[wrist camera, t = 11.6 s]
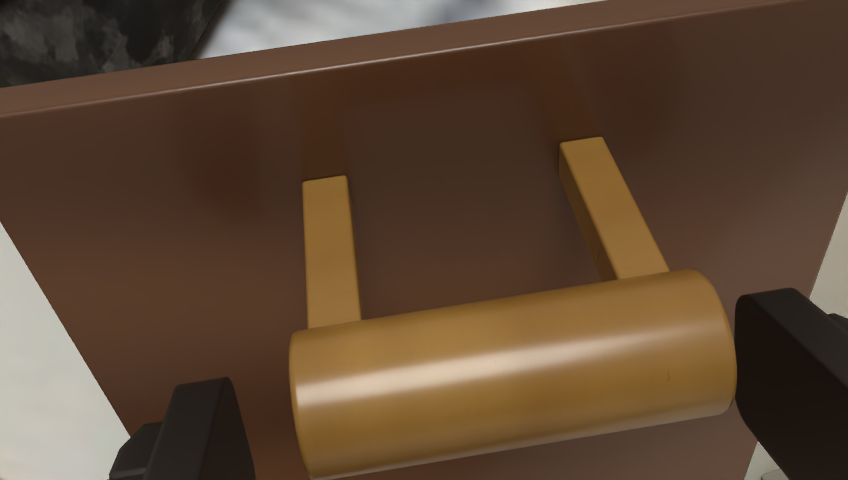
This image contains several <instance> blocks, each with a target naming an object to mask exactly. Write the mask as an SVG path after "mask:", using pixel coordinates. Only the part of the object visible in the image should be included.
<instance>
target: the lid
mask: <svg viewBox="0 0 848 480" xmlns="http://www.w3.org/2000/svg"><path fill="white" fill-rule="evenodd" d="M847 193H848V0H605V1H598V2H591V3H584V4H578V5H571V6H564V7H557V8H550V9H543V10H536V11H529V12H522V13H515V14H509V15H502V16H495V17H488V18H481V19H474V20H467V21H460V22H453V23H446V24H439V25H433V26H426V27H419V28H412V29H405V30H398V31H391V32H384V33H377V34H370V35H364V36H357V37H350V38H343V39H336V40H329V41H322V42H315V43H308V44H301V45H295V46H288V47H281V48H274V49H267V50H260V51H253V52H246V53H239V54H232V55H226V56H219V57H212V58H205V59H198V60H191V61H184V62H177V63H170V64H163V65H157V66H150V67H143V68H136V69H129V70H122V71H115V72H108V73H101V74H94V75H88V76H81V77H74V78H67V79H60V80H53V81H46V82H39V83H32V84H25V85H19V86H12V87H5V88H0V222H1V223H2V225H3V227H4V228H5V230H6V232H7V233H8V235H9V237H10V238H11V240H12V242H13V243H14V245H15V246H16V248H17V250H18V251H19V253H20V255H21V256H22V258H23V260H24V261H25V263H26V265H27V266H28V268H29V270H30V271H31V273H32V275H33V276H34V278H35V280H36V281H37V283H38V285H39V286H40V288H41V289H42V291H43V293H44V294H45V296H46V298H47V299H48V301H49V303H50V304H51V306H52V308H53V309H54V311H55V313H56V314H57V316H58V318H59V319H60V321H61V323H62V324H63V326H64V328H65V329H66V331H67V333H68V334H69V336H70V337H71V339H72V341H73V342H74V344H75V346H76V347H77V349H78V351H79V352H80V354H81V356H82V357H83V359H84V361H85V362H86V364H87V366H88V367H89V369H90V371H91V372H92V374H93V376H94V377H95V379H96V380H97V382H98V384H99V385H100V387H101V389H102V390H103V392H104V394H105V395H106V397H107V399H108V400H109V402H110V404H111V405H112V407H113V409H114V410H115V412H116V414H117V415H118V417H119V419H120V420H121V422H122V423H123V425H124V427H125V428H126V430H127V432H128V433H129V435H130V437H132V436H133V435H134V434H135V433H136V432H137V430H138V429H139V428H140V427H141V426H142V425H143V424H149V423H155V422H161V421H163V420H164V417H165V414H166V411H167V408H168V405H169V403H170V400H171V397H172V394H173V391H174V389H175V387H176V386H177V385H178V384H184V383H191V382H197V381H203V380H209V379H215V378H222V377H229V378H230V380H231V382H232V384H233V386H234V389H235V393H236V397H237V401H238V405H239V408H240V412H241V416H242V420H243V424H244V428H245V432H246V436H247V440H248V444H249V447H250V451H251V455H252V459H253V463H254V468H255V475H256V480H744V477H745V474H746V472H747V469H748V466H749V463H750V461H751V458H752V455H753V452H754V450H755V447H756V444H757V441H758V440H757V439H756V437H755V436H754V435H753V434H752V432H751V431H750V430H749V428H748V427H747V426H746V424H745V423H744V421H743V419H742V417H741V415H740V413H739V410H738V407H737V404H736V400H735V393H736V386H737V363H736V353H735V346H734V327H735V307H736V303H737V300H738V298H739V297H740V296H742V295H745V294H752V293H758V292H764V291H770V290H776V289H783V288H789V287H790V288H795V289H796V290H798V291H799V292H800V293H801V294H803V295H804V296H805V297H806V298H808V299H809V298H810V295H811V292H812V289H813V287H814V284H815V281H816V278H817V275H818V273H819V270H820V267H821V264H822V262H823V259H824V256H825V253H826V251H827V248H828V245H829V242H830V240H831V237H832V234H833V231H834V229H835V226H836V223H837V220H838V217H839V215H840V212H841V209H842V206H843V204H844V201H845V198H846V195H847Z"/></svg>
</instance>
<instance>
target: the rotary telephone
mask: <svg viewBox="0 0 848 480" xmlns="http://www.w3.org/2000/svg"><path fill="white" fill-rule="evenodd" d="M220 2H221V0H0V88H5V87H12V86H19V85H25V84H32V83H39V82H46V81H53V80H60V79H67V78H74V77H81V76H88V75H94V74H101V73H108V72H115V71H122V70H129V69H136V68H143V67H150V66H157V65H163V64H170V63H177V62H184V61H187V59H188V57H189V55H190V54H191V52H192V50H193V48H194V47H195V45H196V43H197V42H198V40H199V38H200V36H201V35H202V33H203V31H204V30H205V28H206V26H207V24H208V23H209V21H210V19H211V17H212V16H213V14H214V12H215V11H216V9H217V7H218V5H219V4H220Z"/></svg>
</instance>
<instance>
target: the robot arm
mask: <svg viewBox="0 0 848 480" xmlns="http://www.w3.org/2000/svg"><path fill="white" fill-rule="evenodd" d="M734 346H735V353H736V363H737V386H736V393H735V400H736V404H737V407H738V410H739V413H740V415H741V417H742V419H743V421H744V423H745V424H746V426H747V427H748V428H749V430H750V431H751V432H752V434H753V435H754V436H755V437H756V439H757V440H758V441H759V442H760V444H761V445H762V446H763V447H764V449H765V450H766V451H767V452H768V454H769V455H770V456H771V457H772V459H773V460H774V461H775V462H776V464H777V465H778V466H779V468H780V469H781V470H782V471H783V473H784V474H785V475H786V476H787V478H788V479H789V480H848V319H847V318H845V317H842V316H840V315H837V314H835V313H834V314H826V313H825V312H823V311H822V310H821V309H820V308H819V307H817V306H816V305H815V304H814V303H812V302H811V301H810V300H809V299H808V298H806V297H805V296H804V295H803V294H801V293H800V292H799V291H798V290H796V289H795V288H790V287H789V288H783V289H776V290H770V291H764V292H758V293H752V294H745V295H742V296H740V297H739V298H738V300H737V303H736V307H735V327H734ZM109 480H256V475H255V468H254V463H253V459H252V455H251V451H250V447H249V444H248V440H247V436H246V432H245V428H244V424H243V420H242V416H241V412H240V408H239V405H238V401H237V397H236V393H235V389H234V386H233V384H232V382H231V380H230V378H229V377H222V378H215V379H209V380H203V381H197V382H191V383H184V384H178V385H177V386H176V387H175V389H174V391H173V394H172V397H171V400H170V403H169V405H168V408H167V411H166V414H165V417H164V420H163V421H161V422H155V423H149V424H143V425H142V426H141V427H140V428H139V429H138V430H137V432H136V433H135V434H134V435H133V436H132V437H131V438H130V439H129V440H128V441H127V442H126V443H125V444H124V445H123V446H122V447H121V448H120V449H119V452H118V454H117V457H116V459H115V461H114V464H113V466H112V469H111V471H110V473H109Z"/></svg>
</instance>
